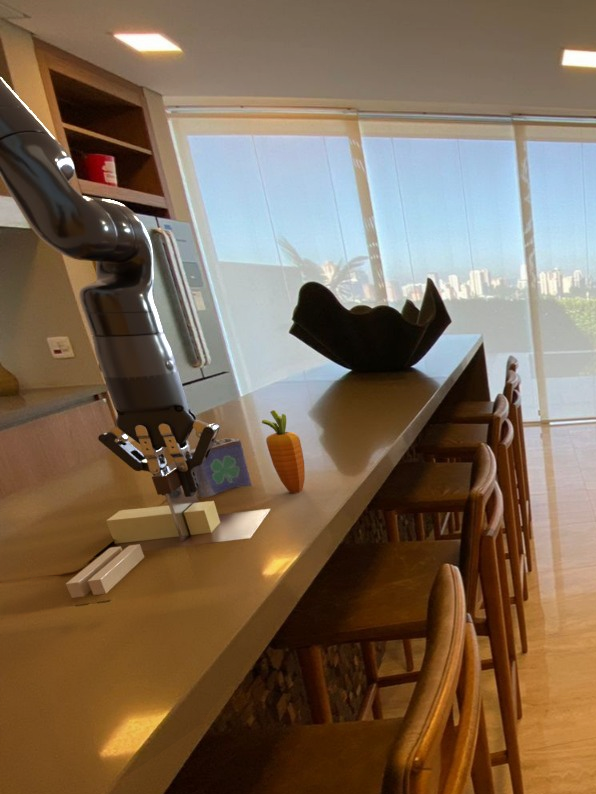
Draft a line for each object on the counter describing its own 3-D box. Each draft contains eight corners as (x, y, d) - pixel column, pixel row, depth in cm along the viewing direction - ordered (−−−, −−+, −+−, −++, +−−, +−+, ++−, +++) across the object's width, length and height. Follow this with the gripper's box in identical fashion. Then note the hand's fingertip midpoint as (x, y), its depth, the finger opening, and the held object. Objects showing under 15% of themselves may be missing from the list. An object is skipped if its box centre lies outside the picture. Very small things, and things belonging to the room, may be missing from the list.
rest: (109, 602, 65) (100, 579, 64) (75, 606, 64) (65, 583, 63) (147, 564, 74) (140, 544, 73) (117, 568, 73) (109, 547, 72)
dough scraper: (187, 541, 78) (165, 475, 74) (174, 542, 77) (151, 476, 74) (210, 517, 86) (191, 457, 82) (197, 518, 85) (178, 458, 81)
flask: (208, 504, 94) (189, 442, 90) (195, 502, 95) (175, 440, 91) (256, 486, 103) (241, 429, 99) (244, 485, 103) (228, 428, 100)
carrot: (309, 501, 96) (288, 413, 90) (276, 504, 94) (253, 415, 89) (316, 491, 100) (296, 407, 95) (285, 494, 99) (263, 409, 93)
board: (93, 565, 74) (90, 557, 73) (135, 530, 84) (132, 523, 84) (251, 546, 79) (249, 538, 79) (272, 515, 90) (270, 508, 89)
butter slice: (190, 535, 80) (183, 512, 78) (200, 524, 83) (193, 502, 82) (211, 532, 80) (204, 510, 79) (220, 522, 84) (213, 500, 83)
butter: (114, 544, 77) (105, 520, 76) (128, 533, 81) (119, 510, 79) (184, 536, 80) (176, 513, 78) (194, 525, 83) (187, 503, 82)
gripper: (212, 364, 78) (245, 482, 85) (90, 369, 74) (135, 493, 81) (192, 371, 72) (230, 499, 78) (57, 377, 68) (109, 511, 74)
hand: (181, 495), depth 79 cm, fingers closed on dough scraper, 1 cm apart
